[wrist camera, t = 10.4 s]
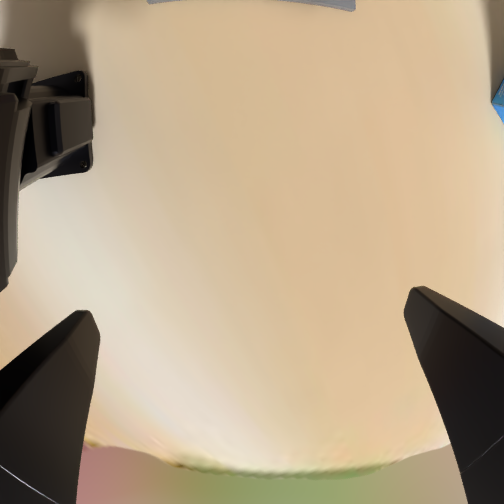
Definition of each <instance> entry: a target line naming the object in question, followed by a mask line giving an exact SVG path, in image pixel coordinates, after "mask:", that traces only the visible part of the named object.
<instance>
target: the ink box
mask: <svg viewBox="0 0 504 504" xmlns="http://www.w3.org/2000/svg"><path fill="white" fill-rule="evenodd" d="M492 105H493V107H494V108H495V110H496V112H497V113H498V115H499V116H500V118H501V120H502V121H503V123H504V80H503V82H502V84H501V86H500V88H499V90H498V91H497V93H496V95H495V97H494V99H493V101H492Z"/></svg>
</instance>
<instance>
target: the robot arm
mask: <svg viewBox="0 0 504 504" xmlns="http://www.w3.org/2000/svg"><path fill="white" fill-rule="evenodd" d="M29 63H30V61H20V60H18V58H17V55H16V53H15V50H14V49H4V48H0V292H1V291H2V290H3V289H4V288H5V287H7V285H8V277H9V276H10V274H11V272H12V270H13V268H14V266H15V264H16V262H17V253H18V202H19V191H20V190H22V189H23V188H25V187H27V186H28V185H30V184H31V183H33V182H35V181H36V180H38V179H42V178H48V177H54V176H61V175H68V174H76V173H84V172H87V171H88V170H90V169H91V168H92V166H93V160H92V151H91V141H92V139H93V129H92V113H91V100H90V99H89V98H88V76H87V73H86V72H85V71H74V72H70V73H67V74H63V75H59V76H56V77H52V78H49V79H46V80H42V81H39V82H36V83H33V84H32V81H33V78H35V77H36V73H37V70H38V66H30V65H29ZM79 75H81V80H80V81H79V82H78V81H77V77H78V76H79ZM83 161H85V162H86V163H87V167H84V166H83ZM404 318H405V321H406V324H407V327H408V330H409V332H410V335H411V338H412V341H413V344H414V347H415V350H416V353H417V356H418V359H419V362H420V364H421V367H422V369H423V371H424V374H425V376H426V378H427V381H428V383H429V386H430V388H431V391H432V393H433V396H434V398H435V401H436V403H437V406H438V409H439V411H440V414H441V417H442V419H443V422H444V425H445V428H446V431H447V433H448V436H449V439H450V442H451V445H452V448H453V451H454V455H455V458H456V461H457V464H458V468H459V471H460V475H461V479H462V482H463V486H464V489H465V493H466V497H467V501H468V504H504V328H503V327H501V326H500V325H498V324H496V323H494V322H492V321H490V320H489V319H487V318H485V317H483V316H481V315H479V314H477V313H476V312H474V311H472V310H470V309H468V308H466V307H464V306H462V305H460V304H459V303H457V302H455V301H453V300H451V299H449V298H447V297H445V296H443V295H441V294H439V293H437V292H435V291H433V290H431V289H429V288H427V287H425V286H418V287H413V288H412V289H411V290H410V292H409V295H408V298H407V302H406V305H405V308H404ZM99 345H100V333H99V330H98V328H97V325H96V323H95V320H94V318H93V316H92V313H91V312H90V311H88V310H76V311H74V312H73V313H72V314H70V315H69V316H68V317H67V318H65V319H64V320H63V321H61V322H60V323H59V324H57V325H56V326H55V327H53V328H52V329H51V330H50V331H48V332H47V333H46V334H44V335H43V336H42V337H41V338H39V339H38V340H37V341H36V342H34V343H33V344H32V345H31V346H29V347H28V348H27V349H26V350H24V351H23V352H22V353H21V354H19V355H18V356H17V357H16V358H15V359H13V360H12V361H11V362H10V363H8V364H7V365H6V366H5V367H4V368H3V369H1V370H0V504H76V496H77V485H78V477H79V469H80V461H81V453H82V447H83V441H84V435H85V429H86V423H87V418H88V413H89V408H90V403H91V398H92V394H93V388H94V382H95V375H96V367H97V359H98V352H99Z"/></svg>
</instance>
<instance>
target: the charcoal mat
mask: <svg viewBox="0 0 504 504" xmlns="http://www.w3.org/2000/svg"><path fill="white" fill-rule="evenodd" d="M170 1H180V0H147V2H148V3H149V4H154V3H161V2H170ZM280 1H290V2H299V3H306V4H313V5H320V6H326V7H331V8H337V9H342V10H346V11H351V12H352V11H354V10H356V5H355V0H280Z"/></svg>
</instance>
